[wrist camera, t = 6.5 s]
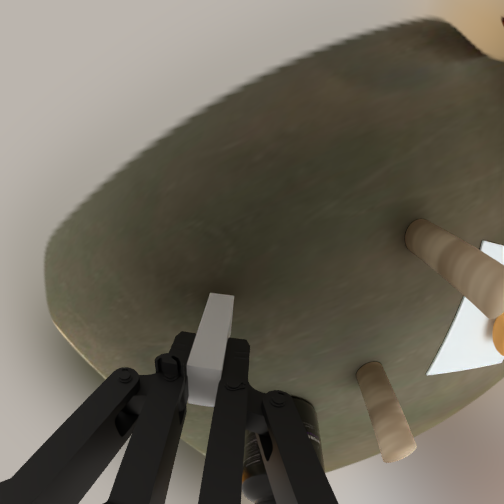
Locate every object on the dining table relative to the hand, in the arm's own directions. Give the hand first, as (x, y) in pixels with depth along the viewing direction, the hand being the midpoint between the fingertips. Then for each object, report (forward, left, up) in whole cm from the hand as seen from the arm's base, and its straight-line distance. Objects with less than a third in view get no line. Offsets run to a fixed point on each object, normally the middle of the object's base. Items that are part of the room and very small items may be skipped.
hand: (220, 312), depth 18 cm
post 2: (-13, -6, -2) cm, 15 cm away
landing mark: (-27, 0, -2) cm, 27 cm away
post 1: (-13, +6, -2) cm, 15 cm away
